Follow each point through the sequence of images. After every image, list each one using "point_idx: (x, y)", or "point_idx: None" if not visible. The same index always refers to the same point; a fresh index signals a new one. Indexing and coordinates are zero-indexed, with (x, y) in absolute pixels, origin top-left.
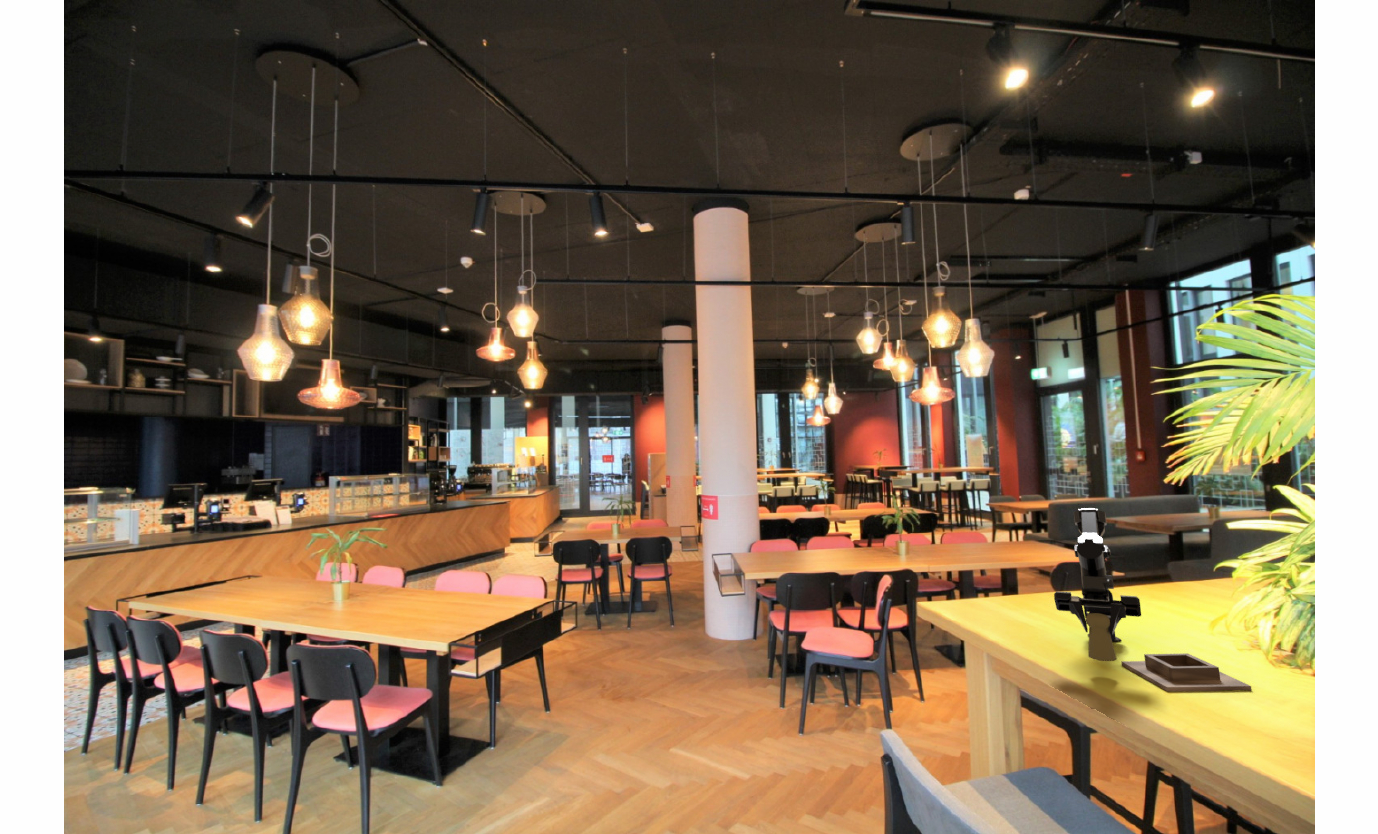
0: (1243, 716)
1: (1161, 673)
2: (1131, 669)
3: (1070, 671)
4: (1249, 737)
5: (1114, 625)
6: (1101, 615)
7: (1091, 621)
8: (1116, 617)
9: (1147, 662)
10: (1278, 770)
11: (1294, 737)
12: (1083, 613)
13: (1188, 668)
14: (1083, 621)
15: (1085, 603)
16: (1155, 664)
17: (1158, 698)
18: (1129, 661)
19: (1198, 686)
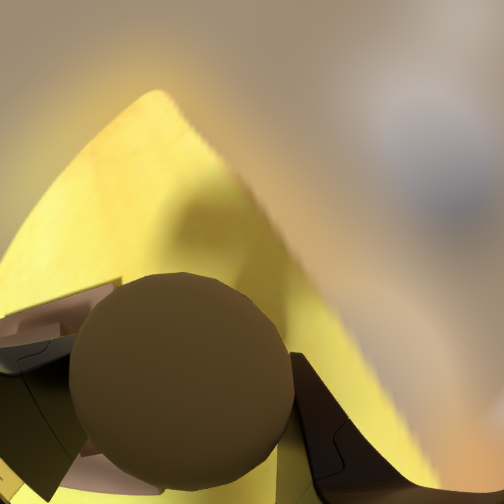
0: (75, 201)
1: None
2: None
3: (340, 399)
4: (119, 143)
5: None
6: (116, 324)
7: (251, 301)
8: (26, 346)
9: (91, 443)
10: (148, 99)
11: (74, 162)
12: (314, 453)
13: (32, 329)
14: (316, 393)
15: None
16: None
17: (156, 238)
18: (136, 493)
19: (55, 302)
